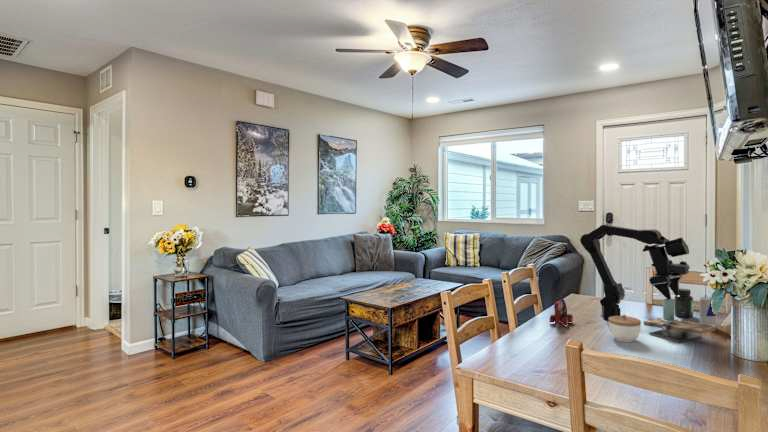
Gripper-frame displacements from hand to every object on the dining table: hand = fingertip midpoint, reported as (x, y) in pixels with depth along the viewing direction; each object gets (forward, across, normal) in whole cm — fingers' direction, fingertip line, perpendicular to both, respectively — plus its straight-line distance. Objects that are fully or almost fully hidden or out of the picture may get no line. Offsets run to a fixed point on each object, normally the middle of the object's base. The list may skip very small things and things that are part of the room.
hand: (673, 297), depth 171 cm
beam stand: (+13, -9, +1) cm, 16 cm away
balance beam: (+10, -9, -1) cm, 14 cm away
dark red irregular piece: (+2, -24, +37) cm, 44 cm away
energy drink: (+15, +11, -4) cm, 19 cm away
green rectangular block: (+8, -8, +2) cm, 11 cm away
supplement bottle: (+12, +24, +7) cm, 27 cm away
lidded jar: (+10, -26, +12) cm, 30 cm away
